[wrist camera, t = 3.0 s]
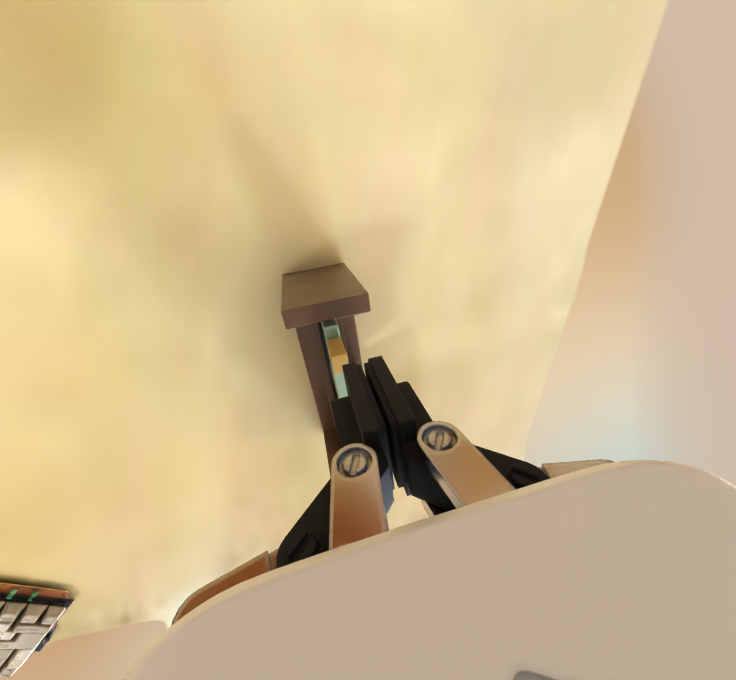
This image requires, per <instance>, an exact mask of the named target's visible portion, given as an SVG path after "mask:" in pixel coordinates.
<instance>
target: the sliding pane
mask: <svg viewBox="0 0 736 680" xmlns="http://www.w3.org/2000/svg"><path fill="white" fill-rule="evenodd" d="M320 323H321V328H322V332H323V337H324V341H325V346H326V350H327V355H328V359H329V363H330V367H331V371H332V375H333V379H334V383H335V387H336V391H337V395H338V398H342V397H346V396H348V394H347V389H346V384H345V379H344V374H343V369H342V365H344V364H348V358H347V354H346V351H345V348H344V346H343V343H342V340H341V338H340V333H339V328H338V324H337V321H336V319H332V320H328V321H323V322H320Z"/></svg>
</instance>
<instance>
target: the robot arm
mask: <svg viewBox="0 0 736 680" xmlns="http://www.w3.org/2000/svg"><path fill="white" fill-rule="evenodd" d="M364 367H365V373H366V376H365V374H364V371H363V369H362V367H361V364H360V365H356V364H355V362H353V363H349V364H344V365H342V369H343V374H344V379H345V384H346V389H347V394H348V396H346V397H342V398H338V399H334V400H331V404H332V409H333V414H334V419H335V424H336V429H337V434H338V439H339V444H340V450H339V451H338V452H337V453H336V454H335V456H334V457H333V459H332V464H331V479H330V480H329V481H328V482H327V484H326V485H325V486H324V488H323V489H322V490H321V492H320V493H319V494H318V495H317V497H316V498H315V499H314V501H313V502H312V503H311V505H310V506H309V507H308V508H307V510H306V511H305V512H304V514H303V515H302V516H301V518H300V519H299V520H298V521H297V523H296V524H295V525H294V527H293V528H292V529H291V531H290V532H289V533H288V534H287V536H286V537H285V538H284V540H283V542H282V543H281V545H280V547H279V549H277V550H275V551H273V552H271V553H270V554H269V553H268V551H266V552H264V553H262V554H260V555H259V556H257V557H255V558H253V559H251V560H250V561H248V562H246V563H244V564H243V565H241V566H239V567H237V568H235V569H234V570H232V571H230V572H228V573H227V574H225V575H223V576H221V577H220V578H218V579H216V580H214V581H212V582H211V583H209V584H207V585H205V586H204V587H202V588H200V589H198V590H197V591H196V592H194V593H193V594H192V595H190V596H189V597H188V598H187V599H186V600H185V601H184V603H183V604H182V605H181V606H180V607H179V609H178V611H177V613H176V615H175V617H174V619H173V621H172V625H171V627H170V628H168V629H167V630H166V631H165V632H164V633H163V634H162V635H161V636H159V637H158V638H157V639H156V640H155V642H153V643H152V644H151V645H150V646H149V647H148V648H147V649H146V650H145V651H144V652H143V654H142V655H141V656H140V657H139V658H138V660H137V661H136V662H135V663H134V665H133V666H132V667H131V669H130V670H129V672H128V673H127V675H126V676H125V678H124V679H123V680H736V486H734V485H732V484H730V483H729V482H727V481H725V480H723V479H721V478H719V477H717V476H715V475H713V474H711V473H709V472H707V471H704V470H702V469H700V468H697V467H693V466H690V465H686V464H681V463H676V462H668V461H655V460H631V461H620V462H613V461H610V460H601V459H600V460H586V461H573V462H560V463H547V464H542V467H541V468H538V467H536V466H534V465H532V464H530V463H527V462H525V461H521V460H518V459H515V458H512V457H509V456H506V455H503V454H500V453H497V452H494V451H491V450H487V449H484V448H481V447H478V446H475V445H473V444H472V443H471V442H470V441H469V440H468V439H467V438H466V437H465V436H464V435H463V434H462V433H461V432H460V431H459V430H458V429H457V428H456V427H455V426H453V425H452V424H449V423H447V422H442V421H432V419H431V418H430V416H429V415H428V413H427V411H426V410H425V408H424V407H423V405H422V403H421V402H420V400H419V398H418V397H417V395H416V394H415V392H414V390H413V389H412V387H411V386H410V384H409V383H408V382H407V381H406V382H402V383H398V384H397V383H396V381H395V379H394V378H393V376H392V374H391V372H390V370H389V369H388V367H387V365H386V363H385V362H384V360H383V358H382V356H378V357H374V358H370V359H368V363H364ZM392 472H393V473H392ZM393 474H394V477H395V480H396V482H397V485H398V487H399V488H400V487H404V489H405V491H406V494H407V496H408V495H411V494H412V495H413V496H415V497H417V498H419V499H421V501H422V504H423V507H424V509H425V510H426V512H427V514H428V515H429V518H426V519H423V520H420V521H417V522H414V523H411V524H408V525H405V526H402V527H399V528H396V529H393V530H390V531H389V528H388V521H387V515H386V514H387V513H388V511H389V509H390V507H391V505H392V503H393V501H394V498H393V490H394V489H395V488H394V480H393Z"/></svg>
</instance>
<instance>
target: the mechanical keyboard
mask: <svg viewBox="0 0 736 680" xmlns="http://www.w3.org/2000/svg"><path fill="white" fill-rule="evenodd" d="M68 593H69V591H67V590H60V589H52V588H46V587H36V586H28V585H19V584H10V583H2V582H0V677H10V676H12V675H13V674H14V673H15V671H16V670H17V669H18V668H19V667H20V666H22V664H23V663H24V662H25V661H26V660H27V659H28V658H29V656H31V654H32V653H33V652H34V651H40V650H41V649H42V648H43V647H44V645H45V644H46V643H47V642H48V641H49V640H50V638H51V637H52V635H53V632H54V630H55V628H56V626H57V625H55V624H56V623H57V622H58V620H59V619H60V617H61V616H62V615H63V613H64V612H65V611H66V609H67V608H68V607H69V606H70V604H71V603H72V602H73V601H74V598H72V597H68V596H67V594H68Z"/></svg>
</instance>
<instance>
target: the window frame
mask: <svg viewBox="0 0 736 680" xmlns="http://www.w3.org/2000/svg"><path fill="white" fill-rule="evenodd" d="M369 311H371V309H370V302H369V294H368V293H367V291H366V290H365V289H364V288H363V286H362V285H361V284H360V283H359V281H358V280H357V279H356V278H355V276H354V275H353V274H352V273H351V271H350V270H349V269H348V268H347V266H346V265H345V264H344V263H342V264H337V265H331V266H326V267H321V268H315V269H310V270H305V271H299V272H294V273H289V274H283V275H282V304H281V313H282V316H283V320H284V323H285V327H286V329H291V328H295V327H296V331H297V334H298V338H299V342H300V346H301V349H302V353H303V357H304V361H305V364H306V368H307V372H308V375H309V379H310V383H311V387H312V390H313V394H314V398H315V402H316V405H317V409H318V413H319V416H320V420H321V424H322V428H323V432H324V438H325V444H326V451H327V457H328V463H329V470H330V476H331V464H332V459H333V457H334V456H335V454H336V453H337V452H338V451H339V450H340V444H339V439H338V434H337V429H336V424H335V419H334V414H333V409H332V404H331V400H334V399H338V395H337V391H336V387H335V383H334V379H333V375H332V371H331V367H330V363H329V359H328V355H327V350H326V346H325V341H324V337H323V332H322V328H321V323H320V322H323V321H328V320H332V319H336V321H337V324H338V328H339V333H340V338H341V340H342V343H343V346H344V348H345V351H346V354H347V358H348V364H349V363H353V362H355V364H356V365H360V364H361V367H362V362H361V355H360V349H359V343H358V337H357V331H356V325H355V318H354V315H356V314H360V313H365V312H369ZM362 369H363V368H362Z"/></svg>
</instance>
